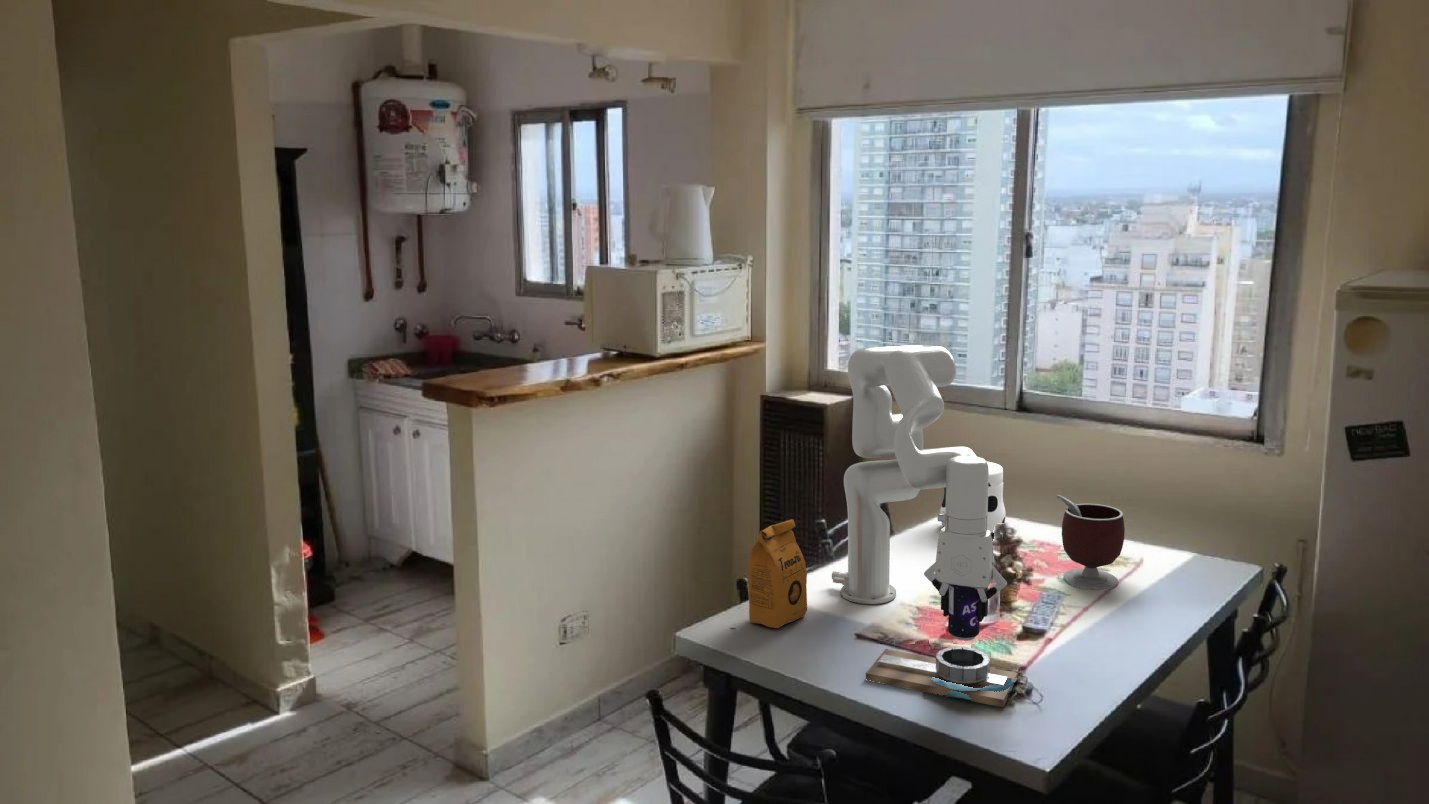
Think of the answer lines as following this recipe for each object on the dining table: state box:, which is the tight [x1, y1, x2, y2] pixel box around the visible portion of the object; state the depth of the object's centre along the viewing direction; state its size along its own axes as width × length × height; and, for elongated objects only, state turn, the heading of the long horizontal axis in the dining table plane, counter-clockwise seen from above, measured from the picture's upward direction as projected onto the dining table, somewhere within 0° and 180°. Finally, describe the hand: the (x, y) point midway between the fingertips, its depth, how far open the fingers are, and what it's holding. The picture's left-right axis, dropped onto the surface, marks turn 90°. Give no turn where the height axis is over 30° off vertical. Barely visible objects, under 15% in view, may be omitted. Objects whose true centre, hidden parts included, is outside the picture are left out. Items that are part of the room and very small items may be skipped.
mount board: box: [865, 648, 1018, 708], centre depth 202 cm, size 26×12×2 cm, turn 63°
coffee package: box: [747, 518, 808, 629], centre depth 230 cm, size 10×12×22 cm
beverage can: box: [947, 584, 981, 642], centre depth 197 cm, size 6×6×12 cm
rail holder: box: [878, 646, 1007, 687], centre depth 201 cm, size 24×10×4 cm, turn 63°
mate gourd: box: [1056, 494, 1126, 591], centre depth 250 cm, size 16×14×20 cm
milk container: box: [939, 460, 1007, 535], centre depth 288 cm, size 17×17×18 cm
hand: (964, 615), depth 197 cm, fingers closed on beverage can, 5 cm apart
